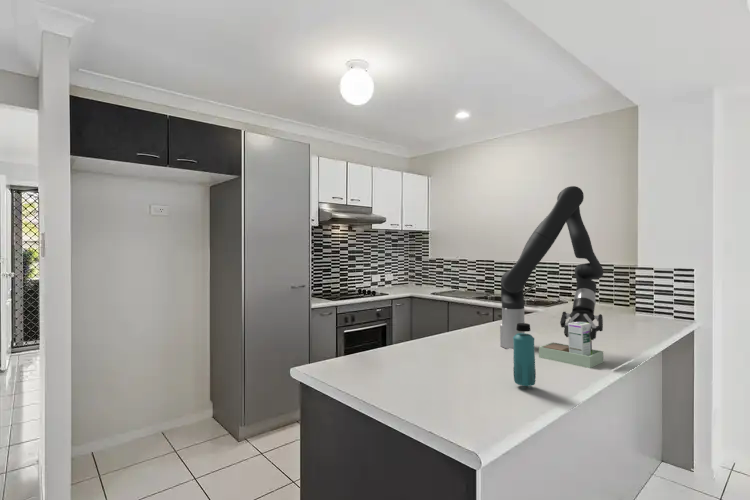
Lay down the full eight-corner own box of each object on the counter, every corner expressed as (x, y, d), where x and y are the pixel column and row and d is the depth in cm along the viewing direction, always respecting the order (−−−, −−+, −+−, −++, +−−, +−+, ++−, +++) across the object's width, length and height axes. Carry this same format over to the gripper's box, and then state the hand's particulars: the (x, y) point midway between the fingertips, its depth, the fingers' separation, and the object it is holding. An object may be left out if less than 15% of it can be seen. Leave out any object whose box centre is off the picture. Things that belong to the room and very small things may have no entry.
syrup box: (583, 364, 149) (582, 324, 149) (568, 360, 154) (567, 322, 154) (592, 362, 152) (592, 323, 152) (577, 358, 157) (577, 320, 157)
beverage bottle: (539, 391, 125) (538, 325, 124) (517, 391, 125) (516, 325, 125) (531, 383, 131) (530, 321, 131) (510, 384, 131) (509, 321, 131)
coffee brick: (543, 357, 160) (543, 346, 160) (553, 353, 165) (553, 343, 165) (561, 360, 154) (561, 350, 154) (571, 356, 160) (571, 346, 159)
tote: (538, 358, 160) (538, 347, 160) (553, 353, 167) (553, 342, 167) (590, 369, 145) (589, 356, 145) (603, 363, 152) (603, 351, 152)
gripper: (563, 295, 163) (557, 329, 154) (603, 297, 155) (600, 333, 145) (566, 307, 167) (560, 340, 158) (605, 310, 159) (602, 345, 150)
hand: (579, 337), depth 152 cm, fingers open, 8 cm apart
